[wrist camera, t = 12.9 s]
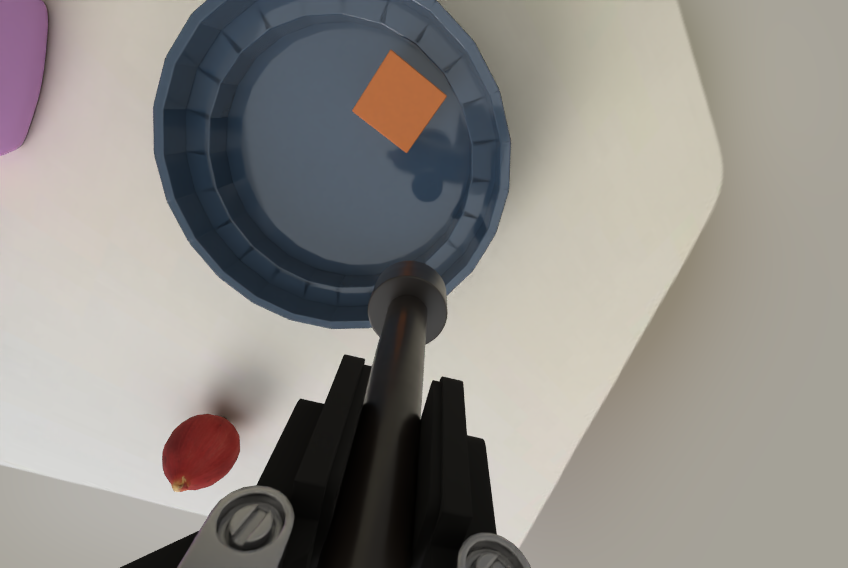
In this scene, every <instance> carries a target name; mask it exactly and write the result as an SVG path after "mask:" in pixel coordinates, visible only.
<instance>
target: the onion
mask: <svg viewBox="0 0 848 568" xmlns="http://www.w3.org/2000/svg"><path fill="white" fill-rule="evenodd" d="M239 452H240V439H239V434H238V432H237V430H236V429H235V427H234V425H233V424H231V423H230V422H229V421H228V420H227V419H226V418H224V417H220V416H216V415H211V414H203V415H197V416H194V417H191V418H189V419H187V420H186V421H184V422H183V423H181V424H180V425H179V426H178V427H177V428H176V429H175V430H174V431H173V432H172V434H171V436H170V437H169V439H168V441H167V442H166V444H165V446H164V449H163V456H162V463H163V471H164V474H165V476H166V477H167V479H168V480H169V482H170V483H171V485H172V488H173V490H174V491H176V492H182V491H186V490H198V489H201V488H205V487H208V486H211V485H213V484H214V483H216V482H217V481H219V480H220V479H221V478H223V477H224V476H225V475H226V474H227V473H228V472H229V471H230V469H231V468H232V467H233V465H234V463H235V462H236V460H237V458H238V455H239Z"/></svg>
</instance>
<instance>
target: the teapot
mask: <svg viewBox="0 0 848 568" xmlns="http://www.w3.org/2000/svg"><path fill="white" fill-rule="evenodd" d="M47 34H48V12H47V9H46V5H45V4H44V2H43V1H42V0H0V156H1V155H5V154H7V153H9V152H12V151H14V150H16V149H17V148H19V147H20V146H21V145H22V143H23V142H24V140H25V138H26V135H27V133H28V130H29V127H30V124H31V121H32V118H33V115H34V111H35V108H36V105H37V101H38V98H39V93H40V89H41V84H42V79H43V72H44V64H45V55H46V45H47Z"/></svg>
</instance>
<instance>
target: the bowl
mask: <svg viewBox="0 0 848 568" xmlns="http://www.w3.org/2000/svg"><path fill="white" fill-rule="evenodd" d="M390 50H392V51H394V52H395V53H396V54H397V55H398V56H400V57H401V58H402V59H403V60H405V61H406V62H407V63H408V64H409V65H411V66H412V67H413V68H414V69H415V70H417V71H418V72H419V73H420V74H421V75H423V76H424V77H425V78H426V79H428V80H429V81H430V82H431V83H432V84H434V85H435V86H436V87H437V88H438V89H440V90H441V91H442V92H443V93H444V94H446V95H447V97H446V98H445V100H444V101H443V103H442V104H441V106H440V107H439V108H438V110H437V111H436V113H435V114H434V116H433V117H432V118H431V120H430V121H429V123H428V124H427V125H426V127H425V128H424V130H423V131H422V133H421V134H420V135H419V137H418V138H417V140H416V141H415V143H414V144H413V145H412V147H411V148H410V150H409V151H408V153H405V152H404V151H403V150H402V149H400V148H399V147H398V146H396V145H395V144H394V143H393V142H391V141H390V140H389V139H387V138H386V137H385V136H383V135H382V134H381V133H380V132H378V131H377V130H376V129H374V128H373V127H372V126H371V125H369V124H368V123H367V122H365V121H364V120H363V119H361V118H360V117H359V116H358V115H356V114H355V113H354V112H353V111H352V110H353V108H354V107H355V105H356V103H357V102H358V100H359V99H360V97H361V96H362V94H363V92H364V91H365V89H366V88H367V86H368V84H369V83H370V81H371V80H372V78H373V76H374V75H375V73H376V72H377V70H378V68H379V67H380V65H381V64H382V62H383V61H384V59H385V57H386V56H387V54H388V53H389V51H390ZM166 57H167V58H165V61H164V65H163V69H162V73H161V77H160V81H159V85H158V89H157V93H156V97H155V101H154V106H153V124H154V155H155V159H156V163H157V167H158V171H159V174H160V178H161V182H162V185H163V189H164V193H165V197H166V200H167V203H168V205H169V206H170V208H171V210H172V212H173V214H174V216H175V218H176V219H177V221H178V223H179V225H180V227H181V229H182V231H183V233H184V234H185V236H186V238H187V240H188V242H189V243H190V244H191V246H192V247H193V248H194V249H195V250H196V251H197V253H198V254H199V255H200V256H201V257H202V258H203V260H204V261H205V262H206V263H207V264H208V265H209V267H210V268H211V269H212V270H213V271H214V272H215V274H216V275H217V276H218V277H219V278H220V279H222V280H223V281H224V282H226V283H227V284H228V285H230V286H231V287H232V288H234V289H235V290H236V291H238V292H239V293H240V294H242V295H243V296H244V297H246V298H247V299H248V300H250V301H251V302H252V303H254V304H256V305H259V306H261V307H263V308H265V309H267V310H269V311H272V312H274V313H276V314H278V315H280V316H282V317H285V318H287V319H289V320H292V321H297V322H301V323H306V324H311V325H315V326H320V327H325V328H329V329H330V328H331V329H350V328H370V327H371V328H372V326H371V324H370V321H369V318H368V303H369V300H370V297H371V294H372V292H373V289H374V287H375V284H376V282H377V279H378V278H379V276H380V275H381V273H382V272H383V271H384V270H385V269H386V268H388V267H389V266H391V265H393V264H395V263H398V262H401V261H418V262H421V263H424V264H426V265H428V266H430V267H432V268H433V269H434V270H435V271H436V272H437V273H438V274H439V275H440V276H441V278H442V280H443V281H444V284H445V287H446V294H447V295H448V294H449V293H450V292H451V291H452V290H453V289H454V288H455V287H456V286H457V285H459V284H460V283H461V282H462V281H463V280H464V279H465V278H466V277H467V276H468V275H469V274H470V273H471V272H472V271H473V270H474V268H475V267H476V265H477V264H478V262H479V260H480V259H481V257H482V255H483V254H484V252H485V251H486V249H487V247H488V246H489V244H490V242H491V241H492V239H493V238H494V236H495V234H496V232H497V229H498V225H499V222H500V219H501V215H502V212H503V209H504V205H505V202H506V199H507V195H508V192H509V182H510V154H511V139H510V134H509V130H508V125H507V121H506V116H505V112H504V107H503V103H502V98H501V94H500V91H499V88H498V86H497V84H496V82H495V80H494V78H493V76H492V74H491V72H490V70H489V69H488V67H487V65H486V63H485V61H484V59H483V57H482V55H481V53H480V51H479V49H478V47H477V45H476V43H475V42H474V40H473V39H472V38H471V37H470V36H469V35H468V34H467V33H466V32H465V31H464V30H463V28H462V27H461V26H460V25H459V24H458V23H457V22H456V21H455V20H454V19H453V18H452V16H451V15H450V14H449V13H448V12H447V11H446V10H445V9H444V8H443V7H442V6H441V4H440V3H439V2H438V1H436V0H207V1H205V2H204V3H203V4H202V5H201V6H200V7H198V8H197V9H196V10H195V11H194V12H193V13H192V14H191V15H190V17H189V19H188V20H187V22H186V24H185V25H184V27H183V29H182V31H181V32H180V34H179V36H178V37H177V39H176V41H175V42H174V44H173V46H172V47H171V49H170V51H169V52H168V54H167V56H166Z"/></svg>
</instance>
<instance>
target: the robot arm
mask: <svg viewBox="0 0 848 568" xmlns="http://www.w3.org/2000/svg"><path fill="white" fill-rule="evenodd" d="M364 363H365V359H363V358H358V357H354V356H350V355H344V356H343V359H342V361H341V364H340V366H339V369H338V371H337V374H336V376H335V379H334V381H333V384H332V386H331V389H330V391H329V394H328V396H327V399H326V401H325V404H322V403H318V402H313V401H308V400H304V399H300V400H299V401H298V402H297V404H296V406H295V408H294V410H293V412H292V414H291V416H290V418H289V420H288V422H287V424H286V426H285V428H284V431H283V433H282V435H281V437H280V439H279V441H278V443H277V445H276V447H275V449H274V451H273V453H272V455H271V457H270V459H269V461H268V463H267V465H266V467H265V469H264V471H263V473H262V475H261V477H260V479H259V481H258V483H257V485H256V486H249V487H243V488H241V489H238V490H236V491H233V492H231V493H230V494H228V495H227V496H225V497H224V498H223V499H221V500H220V501H219V502H218V503H217V505H216V506H215V507H214V508H213V510H212V511H211V513H210V514H209V516H208V518H207V519H206V521H205V522H204V524H203V526H202V528H201V529H200V530H199V531H197V532H195V533H193V534H191V535H189V536H187V537H184V538H182V539H180V540H178V541H176V542H174V543H172V544H169V545H167V546H165V547H163V548H161V549H159V550H157V551H154V552H152V553H150V554H148V555H146V556H144V557H142V558H139V559H137V560H135V561H133V562H131V563H129V564H127V565H124V566H122V567H120V568H317V565H318V561H319V557H320V554H321V550H322V547H323V544H324V542H325V541H326V539H327V537H328V534H329V530H330V526H331V522H332V519H333V515H334V511H335V508H336V504H337V500H338V496H339V493H340V489H341V485H342V481H343V478H344V474H345V470H346V467H347V463H348V459H349V455H350V452H351V448H352V444H353V441H354V437H355V433H356V429H357V426H358V422H359V418H360V414H361V411H362V407H363V403H364V399H365V394H366V390H367V386H368V381H369V377H370V372H371V368H372V366H368V365H364ZM411 568H531V567H530V564H529V563H528V561H527V559H526V558H525V556H524V555H523V553H522V552H521V551H520V550H519V549H518V548H517V547H516V546H515V545H514V544H513V543H511V542H510V541H508V540H507V539H505V538H504V537H502V536H499V535H497V533H496V525H495V517H494V509H493V501H492V493H491V485H490V477H489V469H488V461H487V453H486V446H485V441H484V440H483V439H481V438H477V437H472V436H468V435H467V430H466V416H465V402H464V388H463V382H462V381H460V380H455V379H451V378H447V377H441V379H440V382H439V381H434V380H433V381H432V383H431V386H430V390H429V393H428V396H427V400H426V403H425V406H424V410H423V413H422V417H421V420H420V436H419V452H418V467H417V483H416V498H415V514H414V529H413V545H412V563H411Z"/></svg>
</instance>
